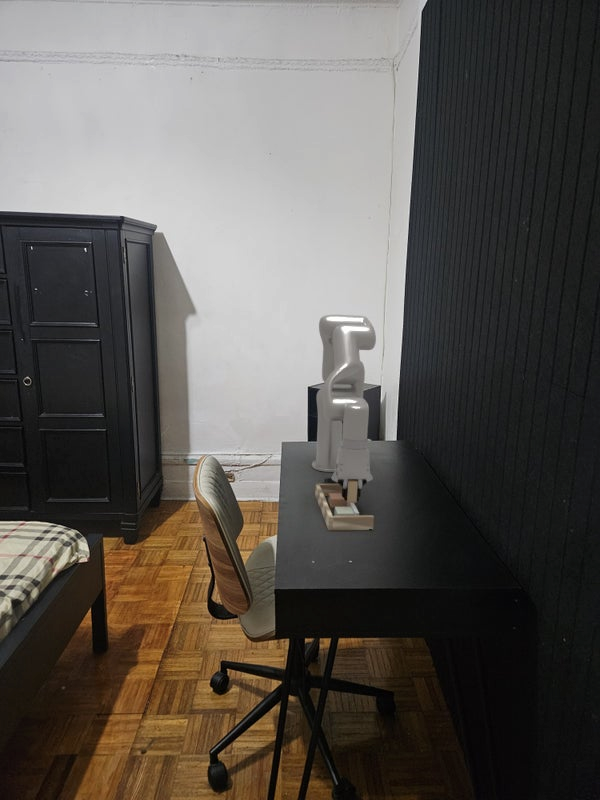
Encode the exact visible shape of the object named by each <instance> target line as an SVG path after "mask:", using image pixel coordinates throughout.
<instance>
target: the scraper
mask: <svg viewBox="0 0 600 800" xmlns="http://www.w3.org/2000/svg"><path fill="white" fill-rule="evenodd" d="M357 487H358V481H357V479H348V481H347V489H348V494H347V501H346V502H347V504H346V507H351V508H352V510H353V512H354V515H360V512H359V509H358V508H357V506H356V505H355V503H356V504H357V502H358V501H357Z"/></svg>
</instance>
